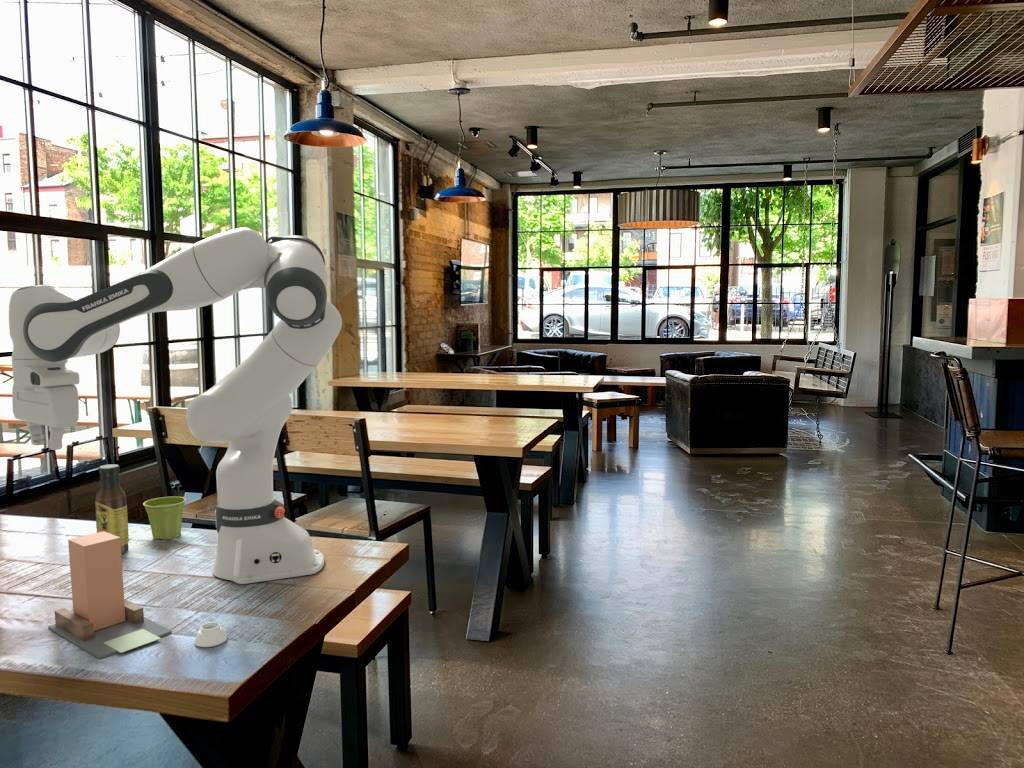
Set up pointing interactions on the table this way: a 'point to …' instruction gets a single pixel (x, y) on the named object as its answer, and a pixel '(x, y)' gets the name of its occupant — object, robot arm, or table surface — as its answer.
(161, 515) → the plant pot
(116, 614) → the block
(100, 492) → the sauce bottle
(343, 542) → the table surface
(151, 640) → the chute mat
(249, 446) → the robot arm
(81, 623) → the chute rails
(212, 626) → the white jar
